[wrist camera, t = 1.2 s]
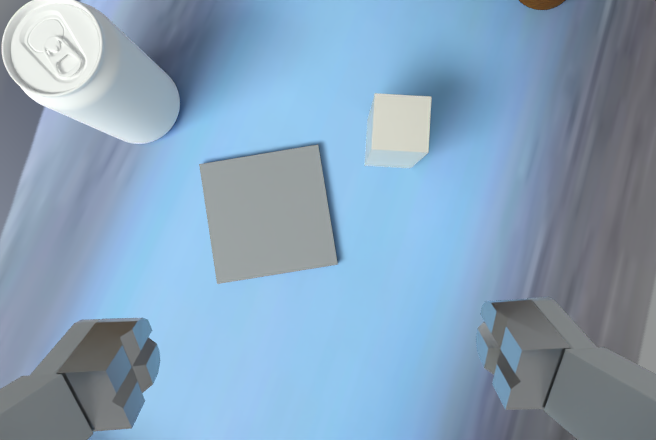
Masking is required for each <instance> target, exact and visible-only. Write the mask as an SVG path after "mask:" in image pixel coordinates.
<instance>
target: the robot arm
mask: <svg viewBox="0 0 656 440" xmlns="http://www.w3.org/2000/svg"><path fill="white" fill-rule="evenodd" d="M480 315H481V316H482V318H483V320H484V322H483V323H482V324H481V325H480V326H479V327H478V328H477V335H476V344H477V351H478V355H479V358H480V360H481V362H482V364H483V366H484V368H485V369H487V370H488V371H489V372H491V373H492V374H493V375H494V378H493V383H492V384H493V386H494V388H495V390H496V392H497V394H498V396H499V398H500V400H501V402H502V404H503V406H504V408H505V410H515V409H544V411H545V412H546V413H547V414H548V415H549V416H550V417H552V418H553V419H554V420H555V421H556V422H558V423H559V424H560V425H561V426H562V427H563V428H565V429H566V430H567V431H568V432H569V433H570V434H572V435H573V436H574V437H575V438H576V439H578V440H656V374H655V373H653V372H651V371H649V370H647V369H645V368H643V367H641V366H640V365H638V364H636V363H634V362H632V361H630V360H628V359H626V358H624V357H622V356H620V355H618V354H616V353H614V352H612V351H610V350H608V349H607V348H605V347H602V348H597V347H596V346H595V345H594V343H593V342H592V341H591V340H590V339H589V338H588V337H587V336H586V335H585V334H584V332H583V331H582V330H581V329H580V328H579V327H578V326H577V325H576V324H575V323H574V321H573V320H572V319H571V318H570V317H569V316H568V315H567V314H566V313H565V312H564V310H563V309H562V308H561V307H560V306H559V305H558V304H557V303H556V302H555V301H554V300H553V299H551V298H549V297H541V298H527V299H516V300H498V301H485V302H484V304H483V305H482V308H481V313H480ZM151 331H152V329H151V326H150V324H149V321H148V320H147V319H144V318H117V319H93V320H80V321H78V322H76V323H74V324H73V326H72V327H71V328H70V329H69V330H68V331H67V333H66V334H65V335H64V336H63V337H62V338H61V340H60V341H59V342H58V343H57V344H56V345H55V346H54V348H53V349H52V350H51V351H50V352H49V353H48V355H47V356H46V357H45V358H44V359H43V360H42V362H41V363H40V364H39V365H38V366H37V367H36V369H35V370H34V371H33V372H32V373H31V374H30V376H21V377H20V378H18V379H16V380H15V381H13V382H11V383H10V384H8V385H6V386H5V387H3V388H1V389H0V440H87V439H88V438H89V437H90V436H91V435H92V434H93V432H92V431H104V430H117V429H129V428H132V427H133V425H134V423H135V421H136V419H137V417H138V415H139V413H140V411H141V408H142V406H143V404H144V402H145V399H144V396H143V392H144V391H145V390H147V389H148V388H149V387H150V386H151V385H153V383H154V381H155V379H156V377H157V374H158V370H159V365H160V353H159V349H158V346H157V344H156V343H155V342H154V341H152V340H151V339H150V338H148V337H149V335H150V333H151Z"/></svg>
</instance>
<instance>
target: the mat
mask: <svg viewBox="0 0 656 440" xmlns="http://www.w3.org/2000/svg"><path fill="white" fill-rule="evenodd" d="M199 166H200V172H201V179H202V186H203V192H204V199H205V206H206V212H207V219H208V226H209V232H210V239H211V246H212V253H213V259H214V266H215V273H216V279H217V284H220V283H226V282H232V281H238V280H244V279H251V278H257V277H263V276H269V275H275V274H282V273H288V272H294V271H300V270H306V269H313V268H319V267H325V266H331V265H337V264H338V263H337V257H336V251H335V245H334V238H333V232H332V226H331V220H330V214H329V208H328V202H327V196H326V189H325V183H324V177H323V171H322V165H321V159H320V153H319V147H318V145H312V146H306V147H300V148H294V149H288V150H282V151H276V152H270V153H264V154H258V155H252V156H246V157H240V158H234V159H228V160H222V161H216V162H210V163H204V164H199Z"/></svg>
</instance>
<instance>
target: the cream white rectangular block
mask: <svg viewBox="0 0 656 440" xmlns="http://www.w3.org/2000/svg"><path fill="white" fill-rule="evenodd" d="M430 114H431V97H429V96H412V95H394V94H376V93H375V94H374V98H373V102H372V105H371V109H370V112H369V116H368V119H367V132H366V148H365V164H364V166H380V167H396V168H411V167H413V166H414V165H415V164H416V163H417V162H418V161H419V160H421V159H422V158H423V157H424V156H425V155H426V154H427V153H428V150H429V132H430Z"/></svg>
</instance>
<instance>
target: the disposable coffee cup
mask: <svg viewBox="0 0 656 440" xmlns="http://www.w3.org/2000/svg"><path fill="white" fill-rule="evenodd" d="M519 1H520V2H521V3H523V4H524V5H526V6H527V7H530V8H533V9H538V10H547V9H551V8H554V7H557V6H558V5H560V4H561V3H563V2H564V1H565V0H519Z"/></svg>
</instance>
